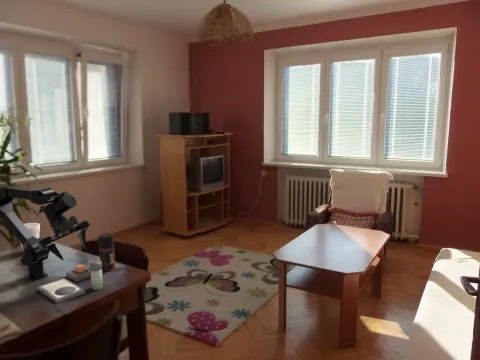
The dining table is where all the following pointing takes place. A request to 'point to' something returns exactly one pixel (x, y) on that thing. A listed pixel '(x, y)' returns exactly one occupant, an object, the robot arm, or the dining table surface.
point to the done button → (80, 269)
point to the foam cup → (33, 229)
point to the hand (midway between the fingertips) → (74, 254)
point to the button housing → (75, 277)
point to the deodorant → (107, 251)
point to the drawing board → (61, 290)
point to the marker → (96, 274)
